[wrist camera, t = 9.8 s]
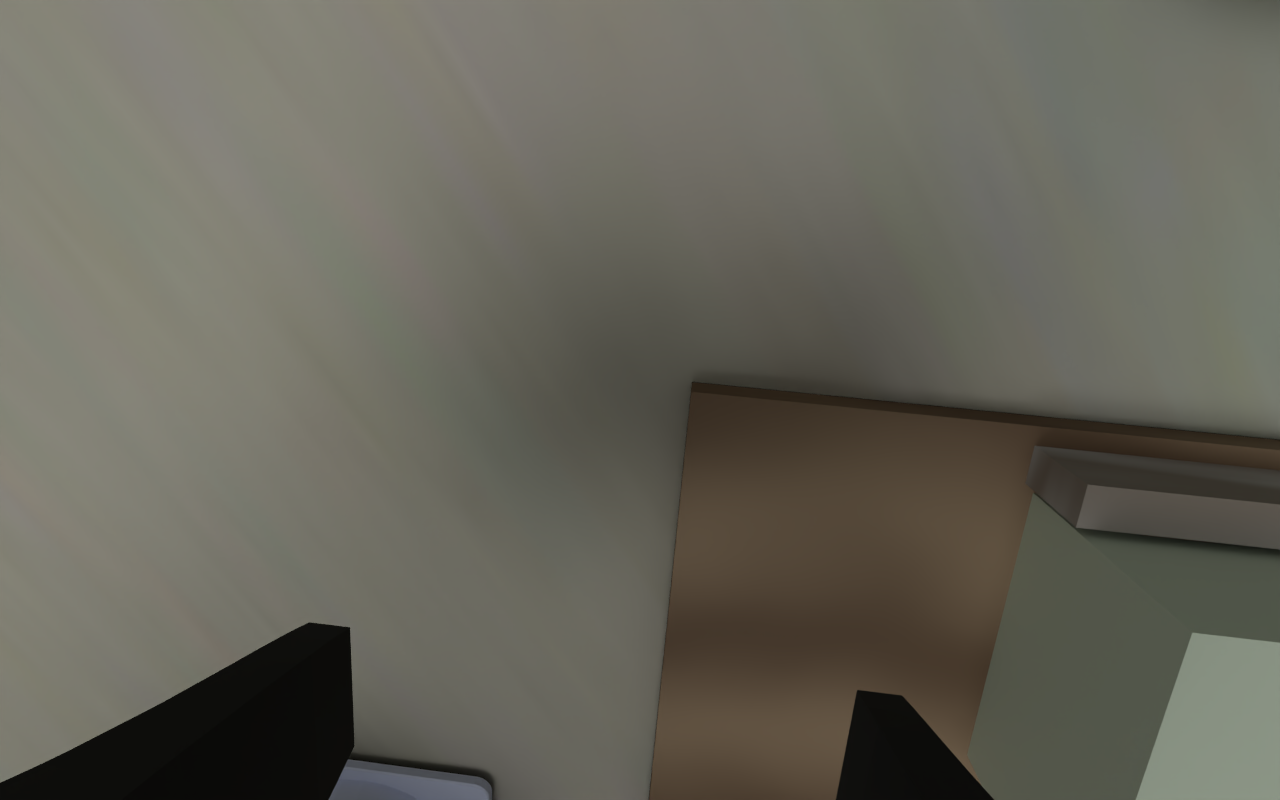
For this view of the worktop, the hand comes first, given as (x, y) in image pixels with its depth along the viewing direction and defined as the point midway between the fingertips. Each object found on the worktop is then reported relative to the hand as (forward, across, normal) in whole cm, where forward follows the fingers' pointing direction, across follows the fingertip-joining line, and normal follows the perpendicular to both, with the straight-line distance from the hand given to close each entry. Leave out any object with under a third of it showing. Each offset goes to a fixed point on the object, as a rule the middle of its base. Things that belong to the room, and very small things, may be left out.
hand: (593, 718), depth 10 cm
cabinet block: (+9, -12, +3) cm, 16 cm away
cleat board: (+10, -8, +5) cm, 14 cm away
